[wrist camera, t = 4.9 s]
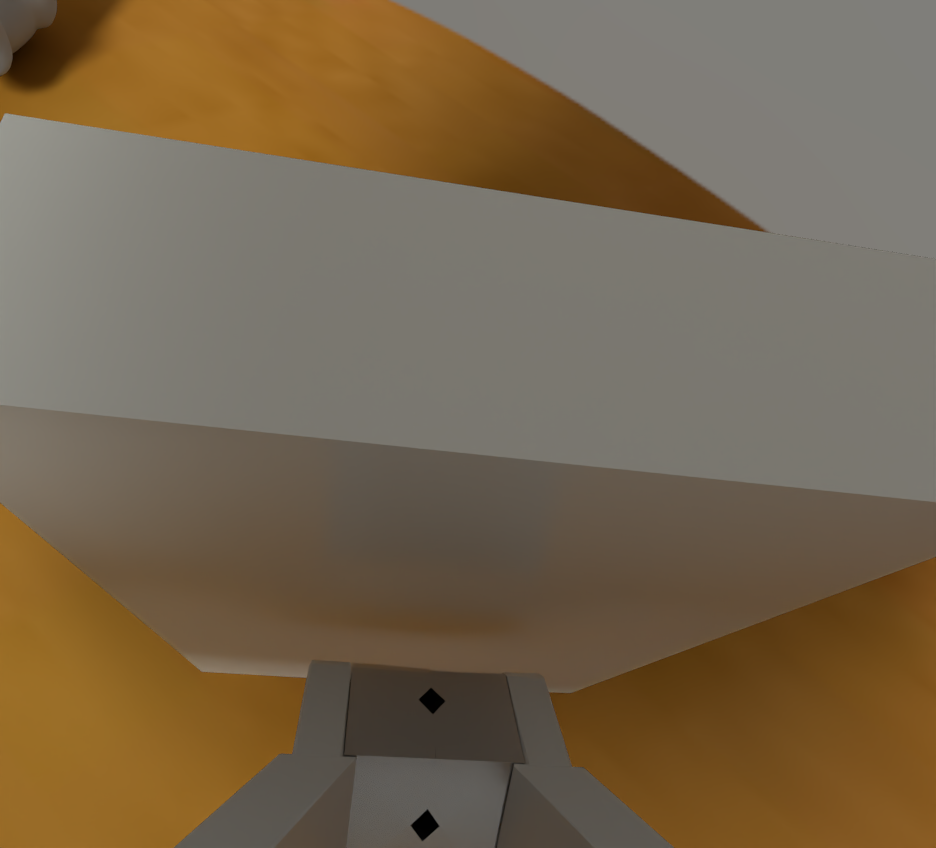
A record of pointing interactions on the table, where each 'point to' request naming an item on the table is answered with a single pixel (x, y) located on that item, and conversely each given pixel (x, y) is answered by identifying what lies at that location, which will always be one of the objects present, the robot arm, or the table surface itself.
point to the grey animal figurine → (21, 25)
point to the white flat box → (443, 410)
